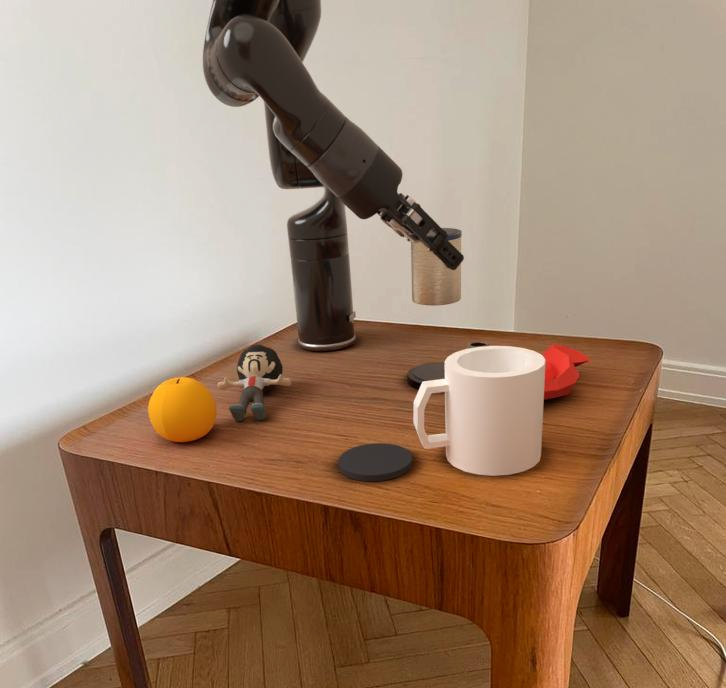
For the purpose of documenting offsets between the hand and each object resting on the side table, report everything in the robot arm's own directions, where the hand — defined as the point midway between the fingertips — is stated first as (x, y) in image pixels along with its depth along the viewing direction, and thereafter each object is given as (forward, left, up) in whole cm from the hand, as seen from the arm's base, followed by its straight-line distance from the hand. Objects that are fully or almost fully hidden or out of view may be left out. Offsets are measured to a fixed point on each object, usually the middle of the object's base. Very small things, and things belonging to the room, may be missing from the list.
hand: (447, 259), depth 96 cm
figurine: (-3, -26, -17) cm, 31 cm away
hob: (0, -1, -16) cm, 16 cm away
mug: (+24, -6, -16) cm, 30 cm away
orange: (+5, -36, -17) cm, 40 cm away
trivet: (+22, -17, -16) cm, 32 cm away
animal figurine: (+9, +9, -17) cm, 21 cm away
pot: (0, -2, -5) cm, 5 cm away
